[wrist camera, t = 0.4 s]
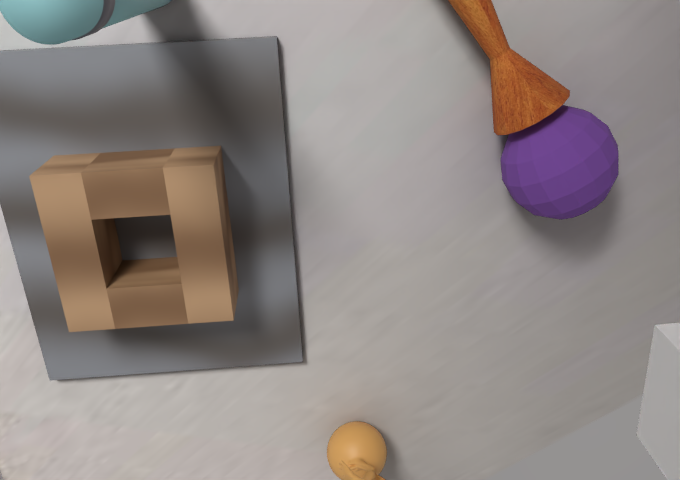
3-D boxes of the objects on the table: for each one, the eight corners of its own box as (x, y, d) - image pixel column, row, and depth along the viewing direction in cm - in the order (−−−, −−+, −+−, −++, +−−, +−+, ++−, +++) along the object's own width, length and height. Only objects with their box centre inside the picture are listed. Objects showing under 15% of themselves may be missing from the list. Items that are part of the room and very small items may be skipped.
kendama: (472, -207, 26) (661, 185, 32) (427, -157, 32) (595, 169, 38) (354, -125, 26) (566, 252, 32) (330, -89, 32) (514, 226, 38)
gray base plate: (-36, 52, 33) (-79, 65, 29) (276, 36, 33) (274, 46, 29) (53, 374, 41) (28, 416, 37) (302, 356, 41) (303, 396, 38)
